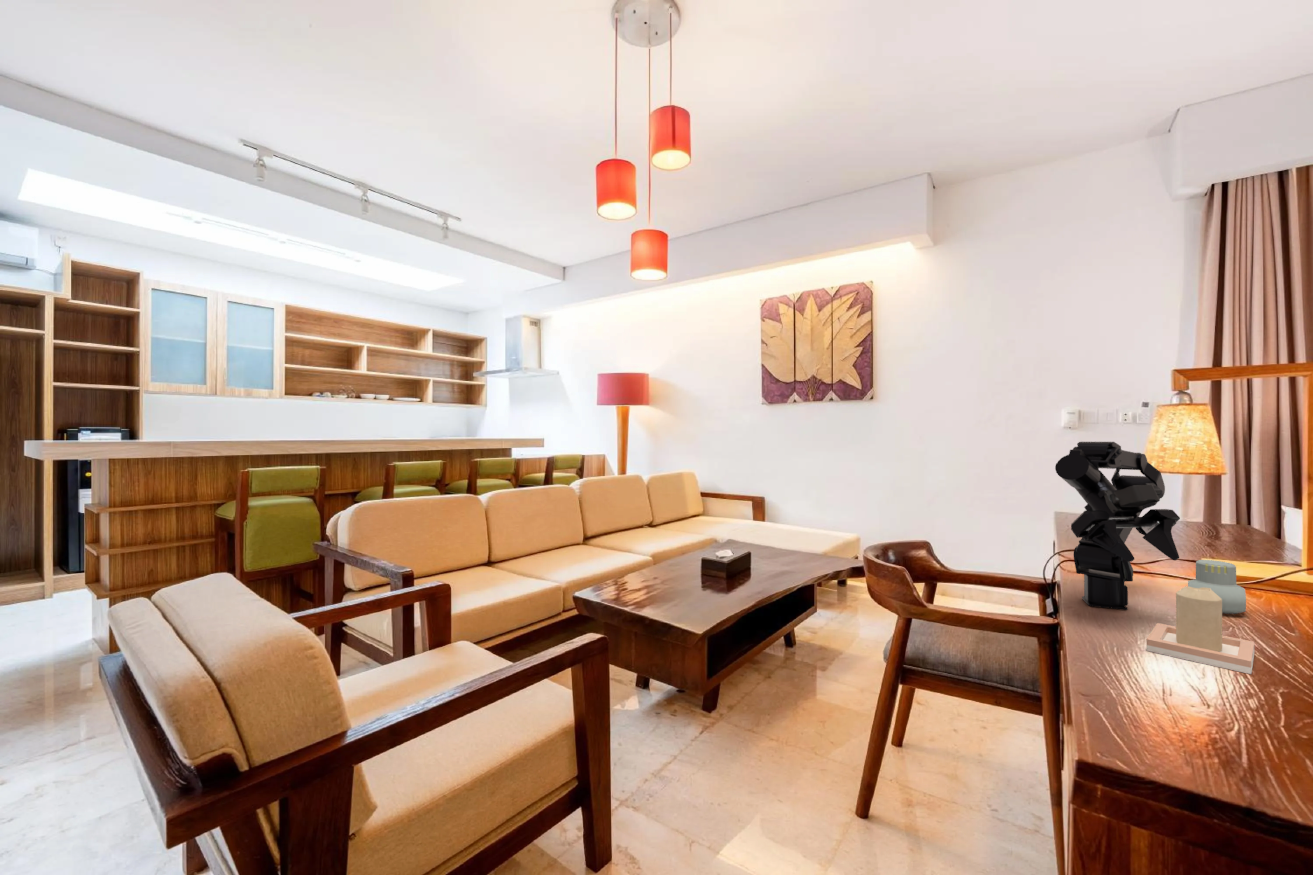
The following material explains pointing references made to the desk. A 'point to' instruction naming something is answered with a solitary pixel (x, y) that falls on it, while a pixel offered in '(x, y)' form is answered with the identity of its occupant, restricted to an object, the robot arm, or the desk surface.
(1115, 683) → the desk surface
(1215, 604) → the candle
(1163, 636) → the tray
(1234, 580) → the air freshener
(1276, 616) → the desk surface
